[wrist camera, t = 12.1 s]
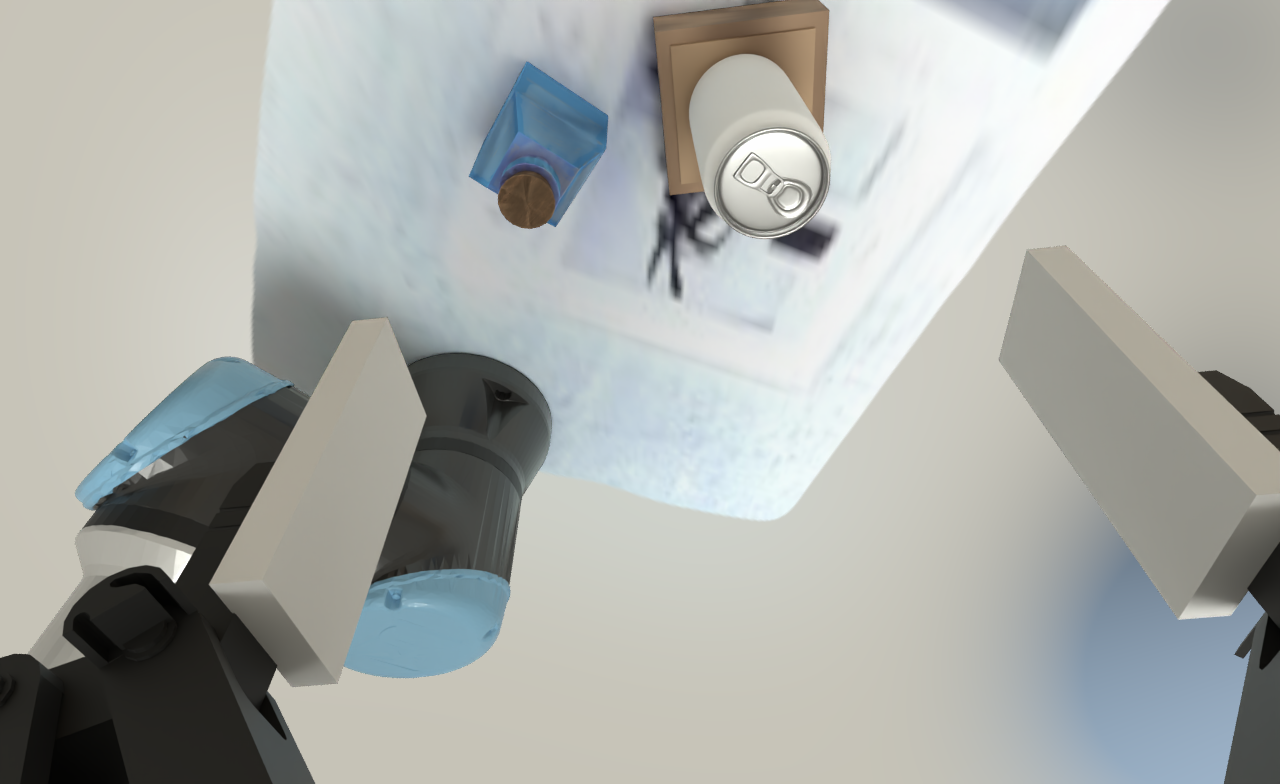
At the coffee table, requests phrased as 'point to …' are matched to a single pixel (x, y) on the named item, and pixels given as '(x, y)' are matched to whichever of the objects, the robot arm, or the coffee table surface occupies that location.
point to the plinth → (713, 35)
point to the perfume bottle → (540, 150)
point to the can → (758, 148)
